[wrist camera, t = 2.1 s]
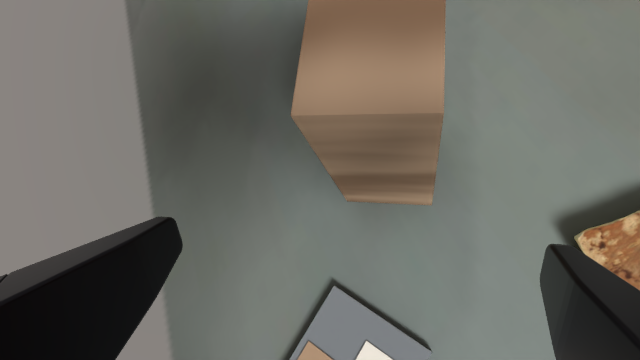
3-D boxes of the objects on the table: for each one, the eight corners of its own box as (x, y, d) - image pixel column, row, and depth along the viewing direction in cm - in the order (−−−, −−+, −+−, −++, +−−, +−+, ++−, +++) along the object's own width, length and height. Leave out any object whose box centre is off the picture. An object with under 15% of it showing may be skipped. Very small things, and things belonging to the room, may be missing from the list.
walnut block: (431, 205, 21) (443, 112, 11) (347, 201, 23) (290, 115, 13) (433, 127, 23) (445, -16, 13) (354, 128, 24) (308, -1, 14)
